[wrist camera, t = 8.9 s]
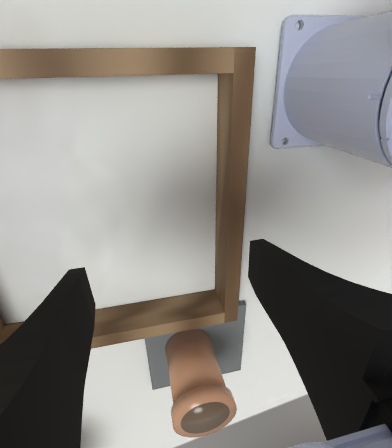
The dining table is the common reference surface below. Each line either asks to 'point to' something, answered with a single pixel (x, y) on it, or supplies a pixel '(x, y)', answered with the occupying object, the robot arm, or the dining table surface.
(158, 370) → the mat
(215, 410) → the terracotta pot
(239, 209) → the frame
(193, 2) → the dining table surface
